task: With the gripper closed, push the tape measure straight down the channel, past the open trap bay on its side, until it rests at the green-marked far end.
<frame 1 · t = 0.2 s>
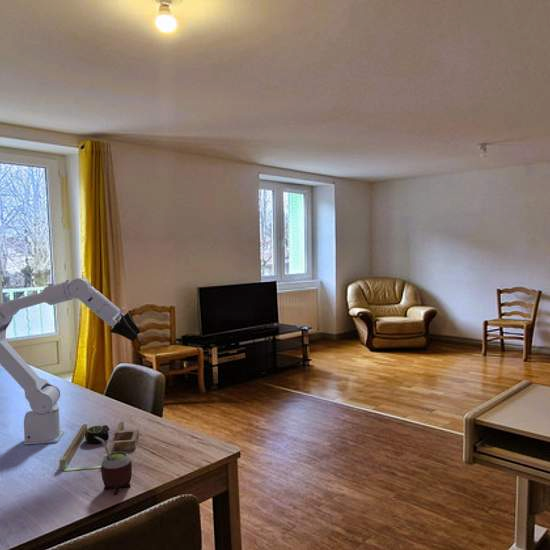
hand: (136, 336, 146), 31 cm above the table, fingers open, 7 cm apart
channel: (95, 446, 137), on the table
tape measure: (99, 440, 142), on the table
mate gourd: (116, 489, 113), on the table
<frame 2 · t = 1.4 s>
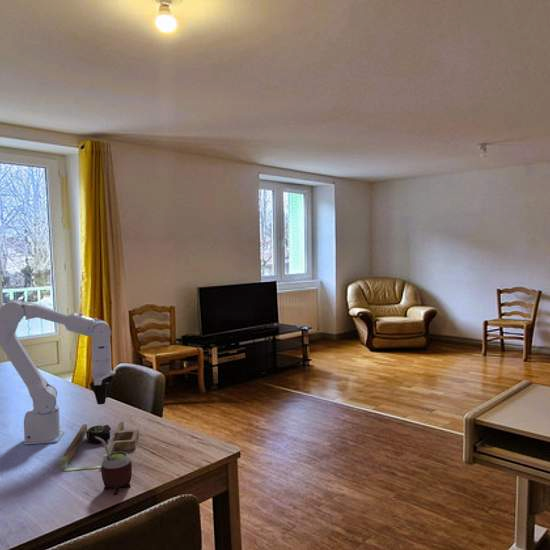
hand: (103, 400, 149), 9 cm above the table, fingers open, 5 cm apart
nothing on the table moved.
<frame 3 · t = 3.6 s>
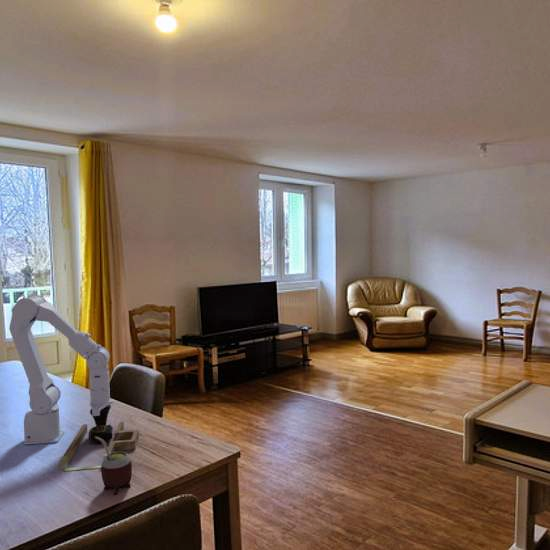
hand: (101, 430, 146), 1 cm above the table, fingers closed
tape measure: (103, 440, 142), on the table, touching gripper
everything else where it was.
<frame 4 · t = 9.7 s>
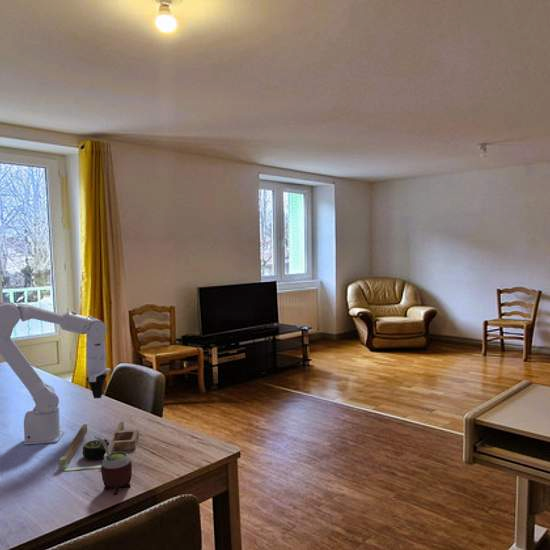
hand: (97, 397, 151), 10 cm above the table, fingers closed
tape measure: (98, 456, 132), on the table
everything else where it was.
at the end: tape measure inside the target area (3.3 cm from its centre), on the table; tape measure moved 11.1 cm from its start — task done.
